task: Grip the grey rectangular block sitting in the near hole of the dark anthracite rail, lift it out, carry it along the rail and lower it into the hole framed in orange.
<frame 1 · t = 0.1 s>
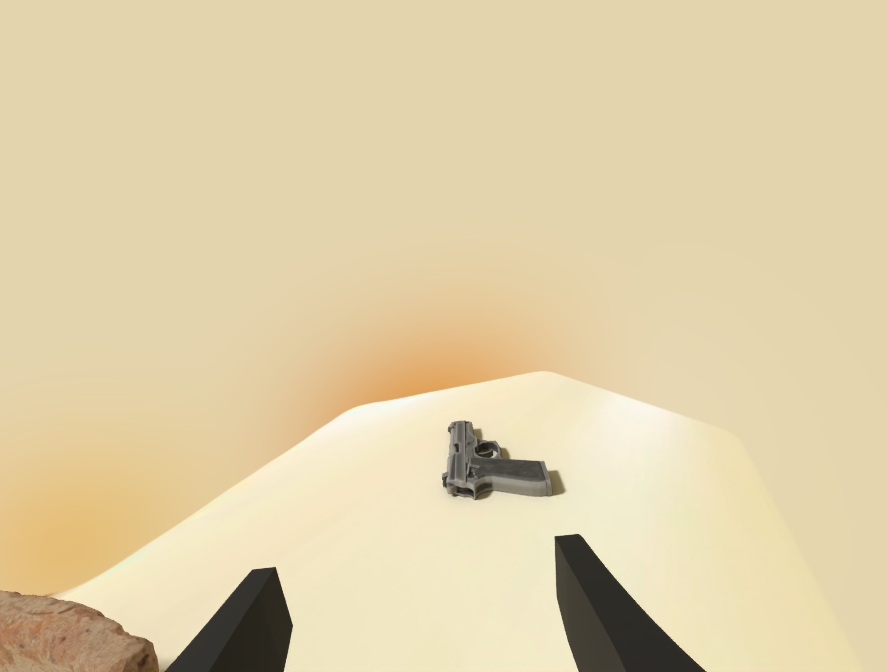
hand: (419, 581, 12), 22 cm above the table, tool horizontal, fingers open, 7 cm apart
handgun: (492, 464, 58), on the table
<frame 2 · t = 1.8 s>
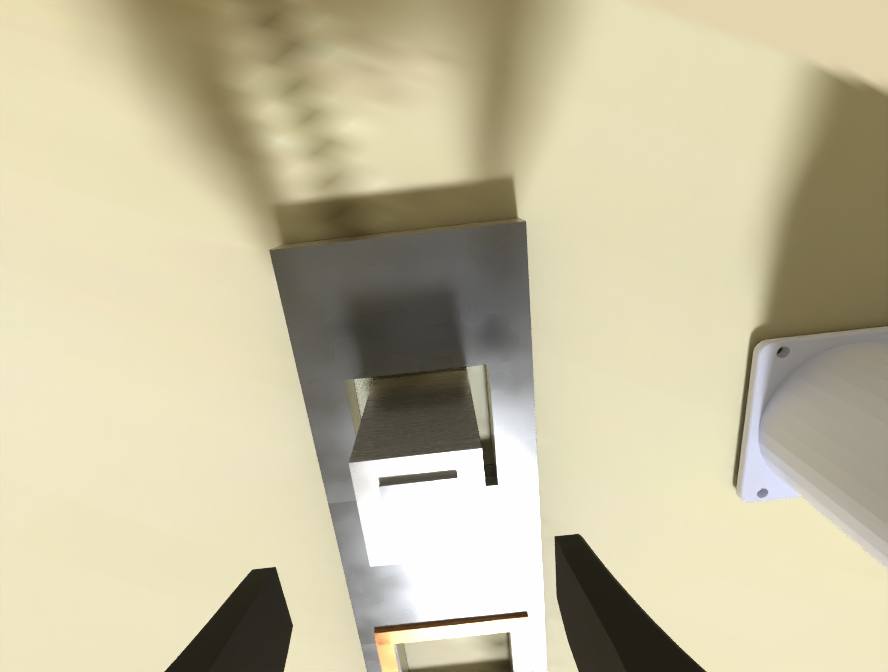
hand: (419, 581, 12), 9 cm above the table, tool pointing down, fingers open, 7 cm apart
grey rectangular block: (425, 416, 20), resting in rail
rail: (442, 543, 22), on the table
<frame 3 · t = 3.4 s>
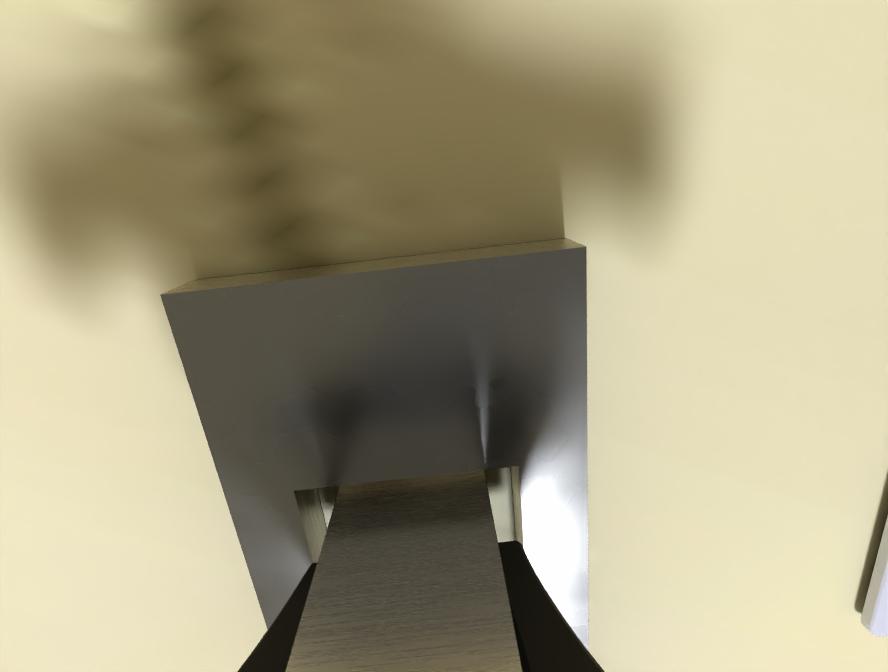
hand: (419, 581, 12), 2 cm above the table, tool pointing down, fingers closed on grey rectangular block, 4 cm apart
grey rectangular block: (421, 525, 13), resting in rail, touching gripper
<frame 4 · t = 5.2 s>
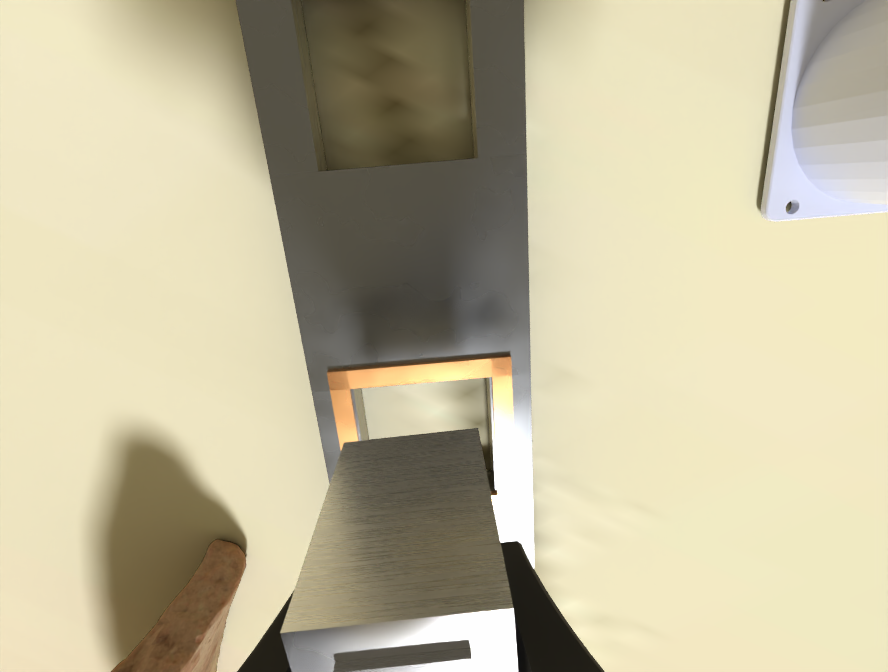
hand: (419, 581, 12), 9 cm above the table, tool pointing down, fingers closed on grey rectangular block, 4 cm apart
grey rectangular block: (419, 491, 14), point 7 cm above the table, touching gripper
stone: (209, 657, 26), on the table
rail: (412, 274, 19), on the table
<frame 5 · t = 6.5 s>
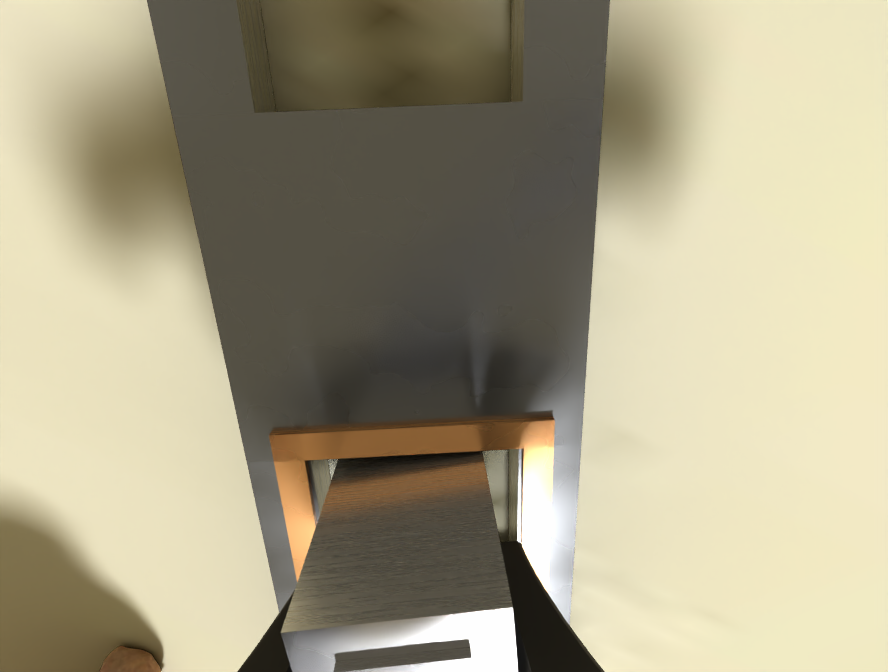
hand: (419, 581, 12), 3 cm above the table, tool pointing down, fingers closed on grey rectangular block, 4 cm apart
grey rectangular block: (419, 491, 14), resting in rail, touching gripper
rail: (406, 288, 12), on the table
when the fingers open (3 cm above the table, at t = 7.3 s): grey rectangular block stays where it is, resting in rail.
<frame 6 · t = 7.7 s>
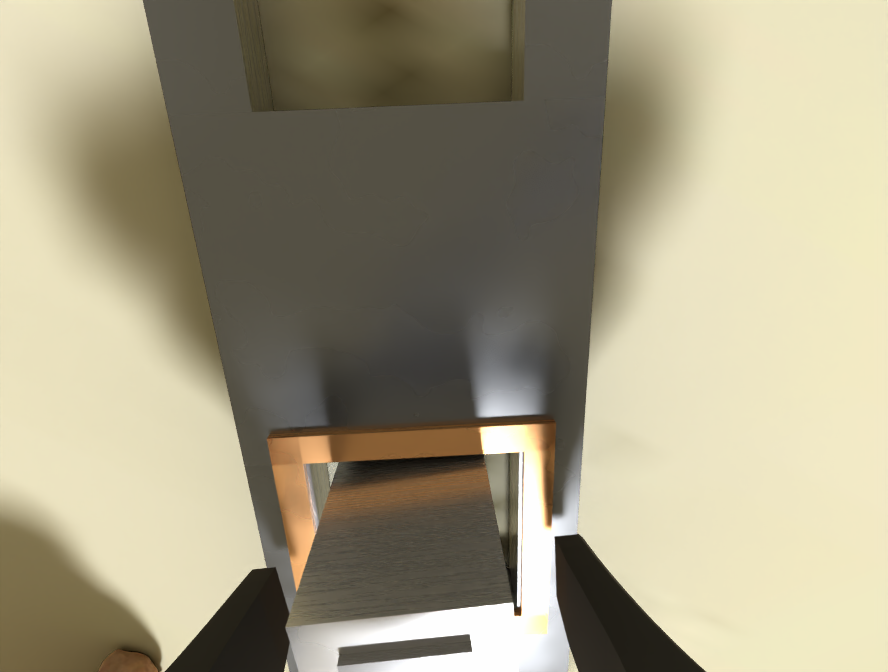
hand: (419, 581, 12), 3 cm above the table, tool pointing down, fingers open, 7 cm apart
grey rectangular block: (419, 488, 14), resting in rail
rail: (406, 289, 12), on the table
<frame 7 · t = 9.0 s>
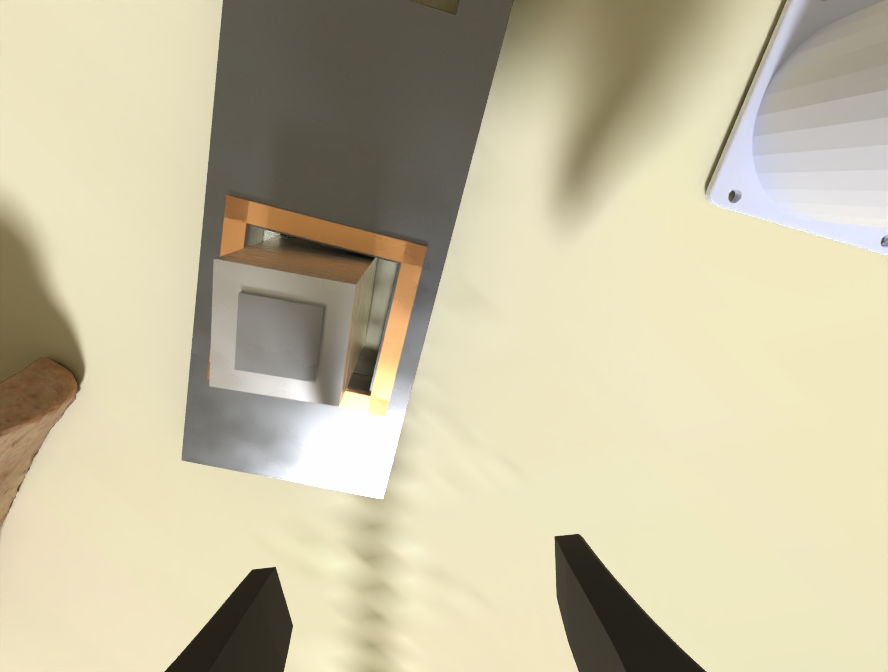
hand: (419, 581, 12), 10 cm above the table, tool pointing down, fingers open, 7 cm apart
grey rectangular block: (324, 291, 19), resting in rail
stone: (4, 500, 22), on the table
rail: (353, 131, 17), on the table
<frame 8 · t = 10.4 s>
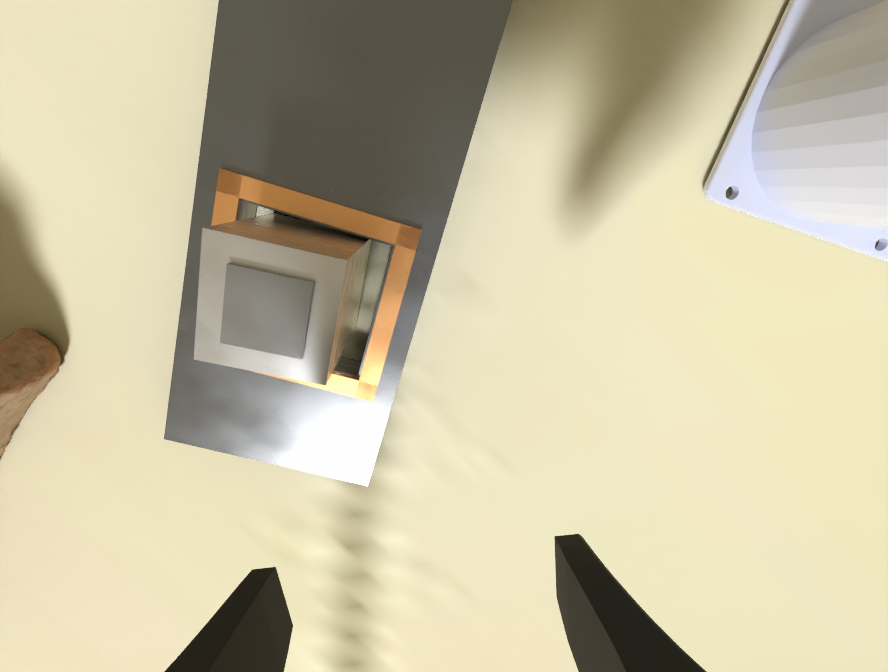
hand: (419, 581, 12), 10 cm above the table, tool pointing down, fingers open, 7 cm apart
grey rectangular block: (316, 272, 19), resting in rail
rail: (352, 110, 17), on the table
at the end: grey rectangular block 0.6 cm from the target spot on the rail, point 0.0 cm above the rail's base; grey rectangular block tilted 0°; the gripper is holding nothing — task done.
